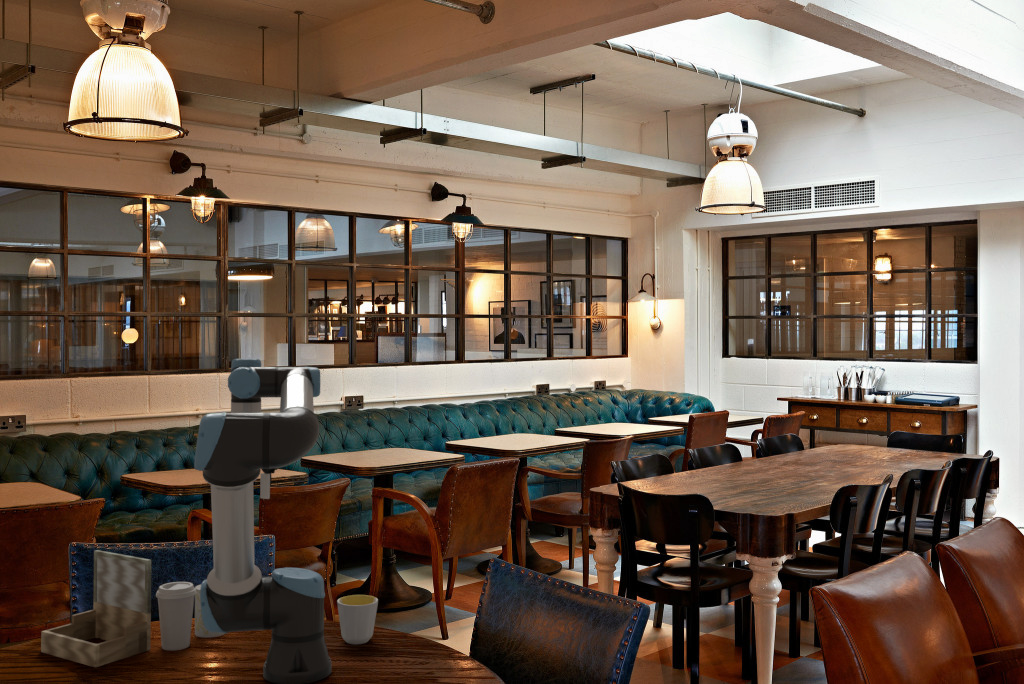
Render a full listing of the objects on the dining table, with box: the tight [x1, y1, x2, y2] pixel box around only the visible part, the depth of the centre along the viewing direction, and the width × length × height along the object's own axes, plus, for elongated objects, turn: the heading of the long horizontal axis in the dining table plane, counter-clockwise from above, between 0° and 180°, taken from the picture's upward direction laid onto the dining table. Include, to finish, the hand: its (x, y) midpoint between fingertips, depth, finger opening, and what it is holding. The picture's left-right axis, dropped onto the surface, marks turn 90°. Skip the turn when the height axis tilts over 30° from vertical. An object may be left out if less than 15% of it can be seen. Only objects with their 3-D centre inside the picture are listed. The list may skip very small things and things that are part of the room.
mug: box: [336, 594, 379, 645], centre depth 237 cm, size 14×10×10 cm
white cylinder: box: [194, 583, 227, 638], centre depth 241 cm, size 8×8×12 cm
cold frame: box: [40, 549, 152, 668], centre depth 227 cm, size 21×16×22 cm
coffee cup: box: [155, 581, 197, 651], centre depth 230 cm, size 10×10×15 cm
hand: (245, 502), depth 237 cm, fingers open, 13 cm apart
